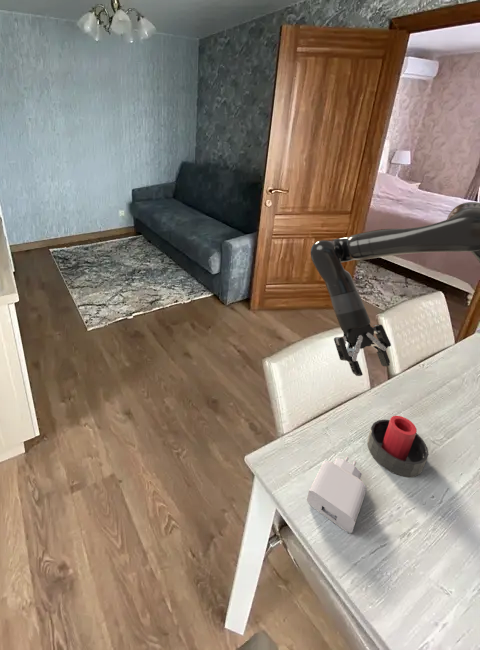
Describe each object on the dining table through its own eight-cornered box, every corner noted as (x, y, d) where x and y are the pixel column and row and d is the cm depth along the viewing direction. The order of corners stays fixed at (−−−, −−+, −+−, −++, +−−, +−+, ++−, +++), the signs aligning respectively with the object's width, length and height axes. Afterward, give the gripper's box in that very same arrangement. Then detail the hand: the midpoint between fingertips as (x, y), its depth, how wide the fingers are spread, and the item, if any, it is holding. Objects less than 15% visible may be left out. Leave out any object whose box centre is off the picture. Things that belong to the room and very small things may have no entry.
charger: (370, 479, 80) (351, 535, 69) (329, 454, 85) (306, 503, 75) (375, 465, 78) (355, 520, 67) (333, 440, 84) (309, 488, 73)
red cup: (401, 443, 88) (410, 417, 84) (410, 463, 83) (421, 436, 79) (378, 439, 89) (386, 414, 85) (386, 459, 84) (395, 432, 80)
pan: (409, 435, 90) (414, 423, 89) (433, 481, 79) (438, 468, 78) (360, 428, 92) (364, 416, 91) (377, 472, 81) (381, 459, 80)
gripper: (335, 315, 88) (359, 380, 84) (381, 301, 91) (406, 363, 87) (319, 317, 95) (340, 377, 91) (361, 304, 98) (384, 362, 95)
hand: (372, 370), depth 89 cm, fingers open, 8 cm apart
